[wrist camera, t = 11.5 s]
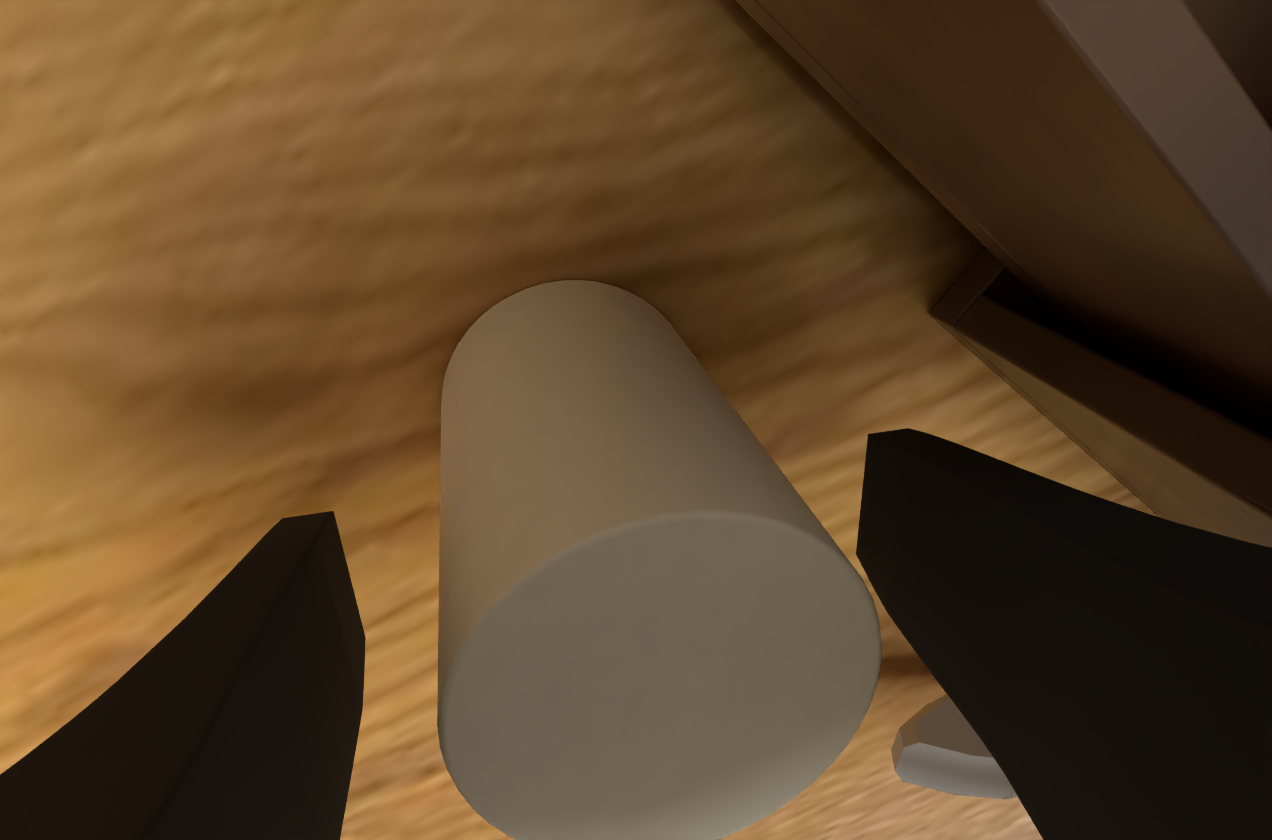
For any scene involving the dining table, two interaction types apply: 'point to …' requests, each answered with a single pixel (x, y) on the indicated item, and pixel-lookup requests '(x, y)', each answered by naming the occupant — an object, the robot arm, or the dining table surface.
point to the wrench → (947, 754)
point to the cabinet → (1116, 409)
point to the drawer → (1085, 159)
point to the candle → (629, 586)
